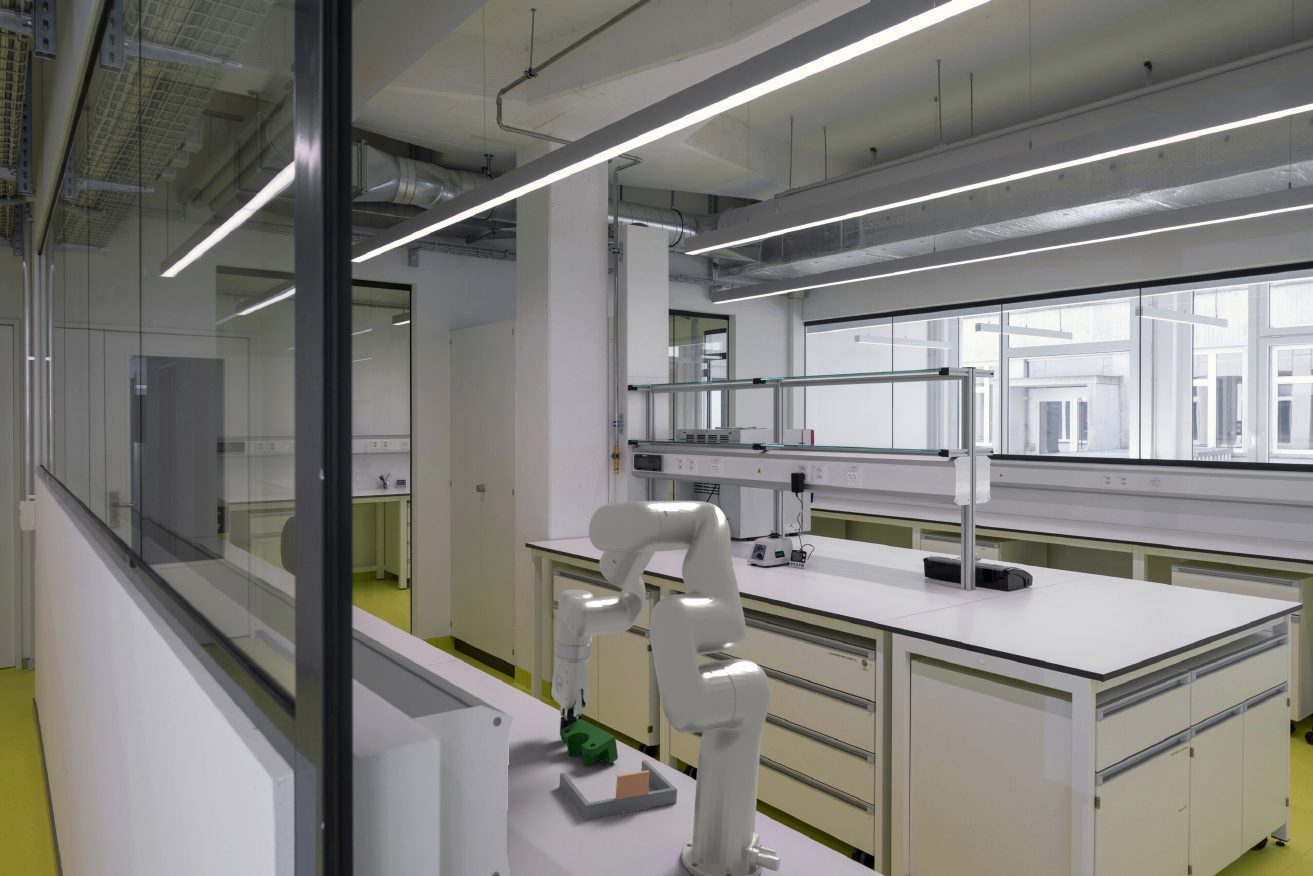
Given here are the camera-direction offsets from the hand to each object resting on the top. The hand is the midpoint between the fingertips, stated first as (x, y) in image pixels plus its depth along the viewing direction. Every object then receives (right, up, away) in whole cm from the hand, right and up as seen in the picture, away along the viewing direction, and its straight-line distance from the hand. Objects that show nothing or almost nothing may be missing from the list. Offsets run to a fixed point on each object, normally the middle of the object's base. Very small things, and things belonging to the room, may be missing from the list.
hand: (568, 736), depth 164 cm
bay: (+12, -2, -23) cm, 25 cm away
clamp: (+5, -2, -8) cm, 9 cm away
